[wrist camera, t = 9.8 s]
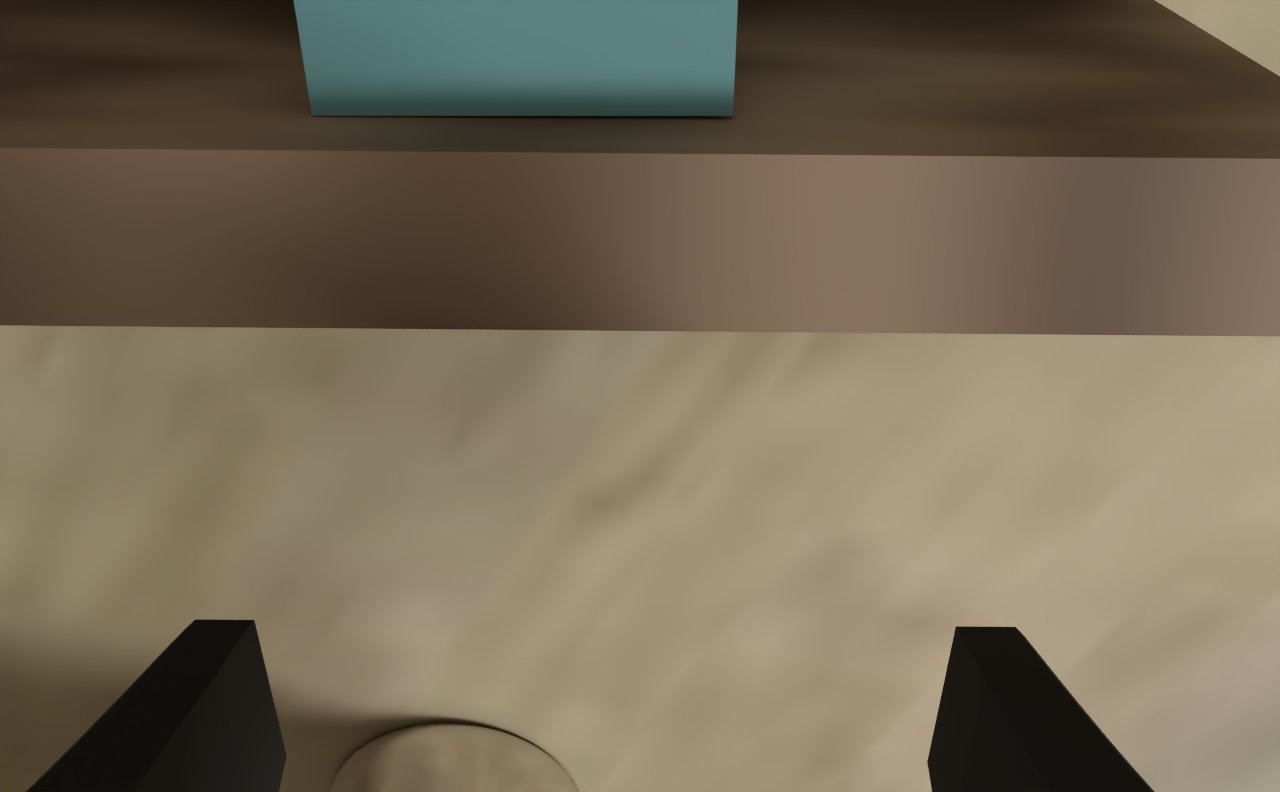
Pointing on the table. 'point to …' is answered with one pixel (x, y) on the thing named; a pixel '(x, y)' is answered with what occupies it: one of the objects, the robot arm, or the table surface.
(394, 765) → the beer glass
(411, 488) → the table surface
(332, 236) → the brown wooden ledge block
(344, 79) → the teal rectangular block
